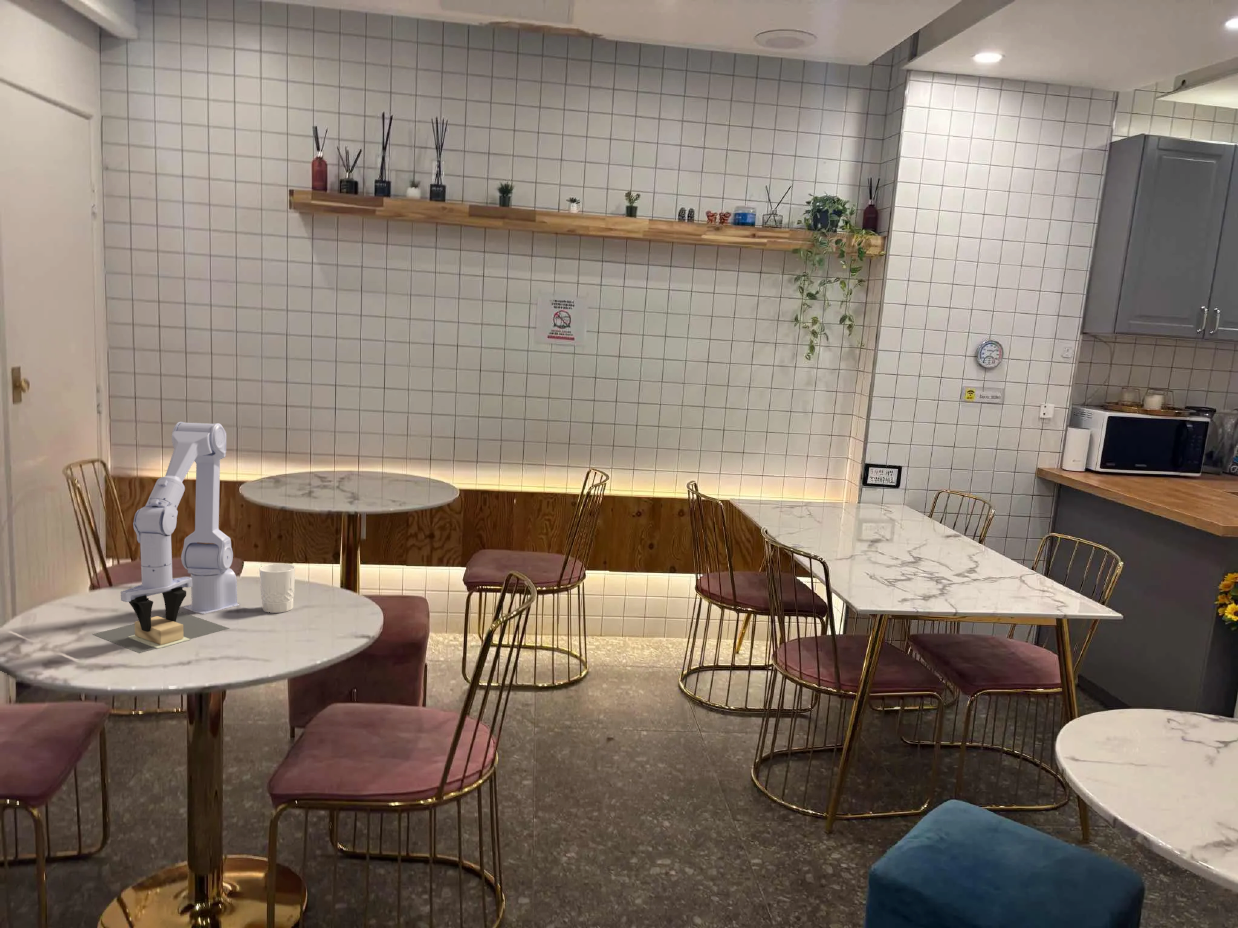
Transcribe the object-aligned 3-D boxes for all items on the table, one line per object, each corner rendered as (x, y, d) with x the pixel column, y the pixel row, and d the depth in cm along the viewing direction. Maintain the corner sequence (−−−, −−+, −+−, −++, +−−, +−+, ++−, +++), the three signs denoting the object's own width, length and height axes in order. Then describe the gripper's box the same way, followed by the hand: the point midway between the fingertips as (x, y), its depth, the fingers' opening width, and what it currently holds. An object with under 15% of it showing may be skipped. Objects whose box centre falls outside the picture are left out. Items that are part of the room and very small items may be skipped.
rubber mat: (182, 613, 208) (182, 611, 208) (231, 630, 198) (231, 627, 198) (92, 635, 191) (92, 633, 191) (140, 655, 181) (140, 652, 181)
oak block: (183, 638, 190) (183, 624, 190) (161, 644, 186) (160, 630, 185) (157, 629, 194) (157, 615, 194) (135, 635, 190) (134, 621, 190)
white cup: (258, 614, 210) (257, 572, 208) (261, 604, 217) (261, 564, 216) (294, 613, 212) (293, 571, 210) (296, 603, 219) (296, 563, 218)
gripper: (177, 554, 196) (179, 615, 198) (110, 567, 184) (113, 632, 186) (197, 559, 193) (199, 621, 195) (131, 573, 180) (133, 639, 182)
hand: (158, 627), depth 190 cm, fingers closed on oak block, 5 cm apart
